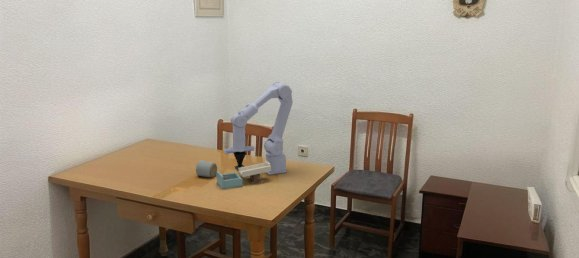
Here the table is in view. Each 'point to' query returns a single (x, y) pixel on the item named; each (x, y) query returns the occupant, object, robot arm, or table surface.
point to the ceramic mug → (206, 168)
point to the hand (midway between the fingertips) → (239, 166)
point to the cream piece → (253, 169)
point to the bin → (232, 182)
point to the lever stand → (255, 179)
